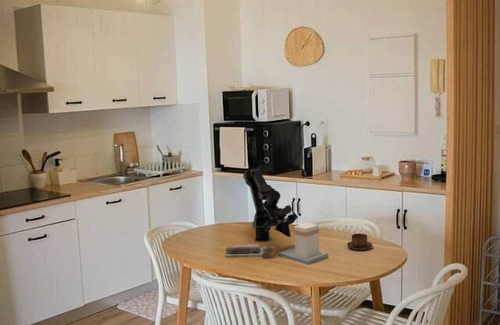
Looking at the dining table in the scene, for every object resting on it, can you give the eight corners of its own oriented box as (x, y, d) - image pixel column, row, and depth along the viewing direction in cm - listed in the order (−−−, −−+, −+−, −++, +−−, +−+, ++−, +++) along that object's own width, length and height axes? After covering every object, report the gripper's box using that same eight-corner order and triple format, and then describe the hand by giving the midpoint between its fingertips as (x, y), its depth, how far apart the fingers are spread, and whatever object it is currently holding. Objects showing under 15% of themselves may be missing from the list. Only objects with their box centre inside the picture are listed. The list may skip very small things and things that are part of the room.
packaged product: (224, 248, 271) (227, 242, 281) (225, 258, 272) (227, 252, 281) (262, 247, 269) (263, 241, 279) (263, 257, 270) (264, 251, 280)
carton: (295, 255, 265) (294, 226, 263) (308, 251, 270) (307, 222, 268) (306, 258, 260) (305, 229, 257) (319, 254, 265) (318, 225, 263)
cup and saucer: (372, 252, 269) (372, 239, 268) (346, 251, 271) (346, 239, 270) (372, 244, 281) (371, 232, 280) (347, 244, 283) (347, 232, 282)
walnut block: (263, 258, 267) (262, 248, 266) (263, 255, 272) (262, 245, 271) (274, 258, 267) (273, 247, 266) (273, 254, 272) (273, 244, 271)
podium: (278, 255, 271) (277, 250, 271) (297, 248, 279) (297, 244, 279) (308, 264, 256) (308, 259, 255) (328, 257, 264) (328, 252, 264)
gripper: (266, 204, 268) (283, 231, 262) (294, 197, 280) (311, 222, 274) (256, 217, 275) (272, 244, 269) (283, 210, 287) (300, 235, 281)
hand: (289, 236), depth 273 cm, fingers closed
